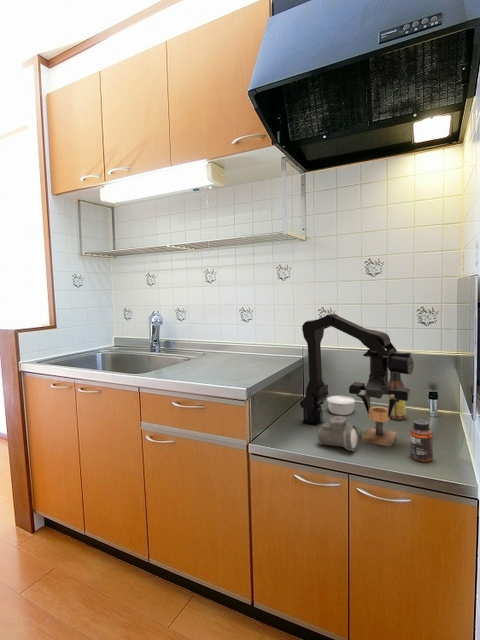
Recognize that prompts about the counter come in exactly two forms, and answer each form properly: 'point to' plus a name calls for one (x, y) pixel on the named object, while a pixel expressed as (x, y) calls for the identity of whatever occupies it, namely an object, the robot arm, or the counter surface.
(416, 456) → the supplement bottle
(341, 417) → the pipe fitting
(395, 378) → the sauce bottle
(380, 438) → the shaft post
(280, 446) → the counter surface
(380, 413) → the ring
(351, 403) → the ramekin
